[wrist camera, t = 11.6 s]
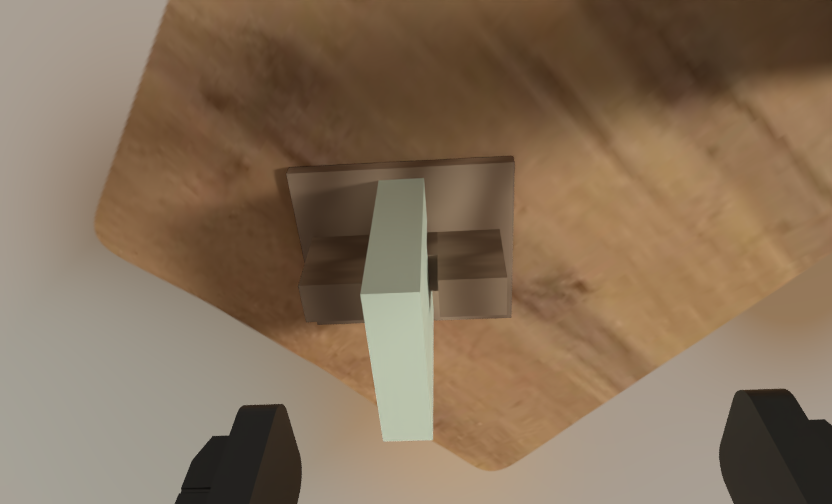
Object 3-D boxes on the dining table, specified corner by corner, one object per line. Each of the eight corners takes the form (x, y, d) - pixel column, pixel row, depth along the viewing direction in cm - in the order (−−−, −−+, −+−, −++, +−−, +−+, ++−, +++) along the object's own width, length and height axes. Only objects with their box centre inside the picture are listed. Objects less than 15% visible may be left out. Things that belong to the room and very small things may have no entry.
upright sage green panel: (423, 178, 44) (420, 291, 33) (433, 309, 50) (432, 440, 40) (378, 180, 44) (360, 294, 33) (394, 311, 51) (383, 441, 40)
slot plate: (513, 155, 44) (525, 205, 38) (510, 309, 52) (519, 370, 46) (289, 167, 45) (267, 217, 39) (319, 316, 52) (305, 377, 47)
